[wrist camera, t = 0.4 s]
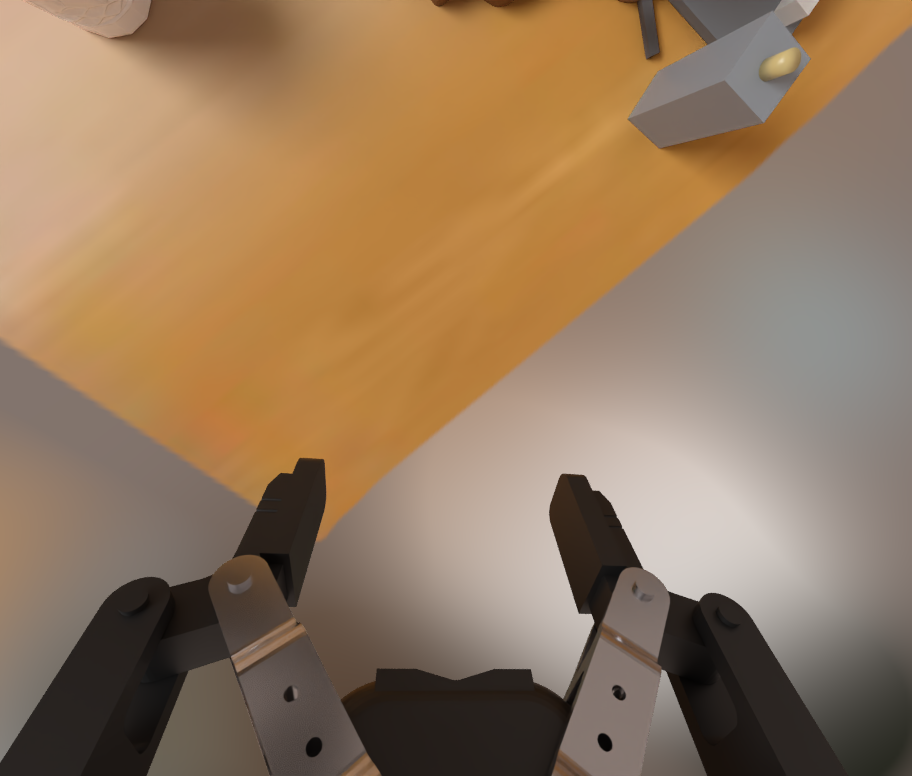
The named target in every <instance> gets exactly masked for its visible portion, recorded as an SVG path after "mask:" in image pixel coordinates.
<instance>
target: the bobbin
mask: <svg viewBox="0 0 912 776" xmlns="http://www.w3.org/2000/svg"><path fill="white" fill-rule="evenodd" d="M619 1H621V2H628V3H631V2H637V4H638V10H639V17H640V23H641V29H642V36H643V42H644V49H645V55H646V59H647V58H649V57H652V56H654V55H656V54H657V53H659V52H660V51H659V44H658V37H657V30H656V23H655V16H654V9H653V2H652V0H619Z"/></svg>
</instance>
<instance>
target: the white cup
mask: <svg viewBox="0 0 912 776" xmlns="http://www.w3.org/2000/svg"><path fill="white" fill-rule="evenodd" d="M23 1H25V2H27V3H29V4H31V5H33V6H35V7H37V8H39V9H41V10H43V11H45V12H47V13H49V14H51V15H53V16H56V17H58V18H60V19H62V20H65V21H67V22H70V23H72V24H74V25H75V26H77V27H79V28H81V29H83V30H86V31H89V32H92V33H95V34H98V35H101V36H104V37H107V38H113V37H118V36H124V35H130V34H133V33H134V32H135V30H136V29H137V28H138V27H140V26H141V25H142V24H143V23H144V22H145V21H146V20H147V18H148V13H149V9H150V4H151V0H23Z"/></svg>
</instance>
